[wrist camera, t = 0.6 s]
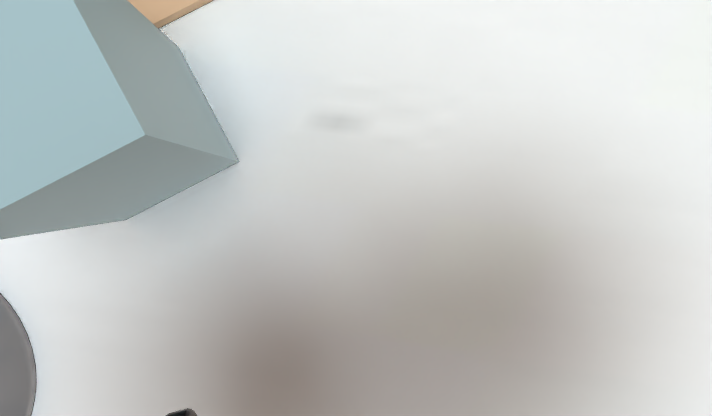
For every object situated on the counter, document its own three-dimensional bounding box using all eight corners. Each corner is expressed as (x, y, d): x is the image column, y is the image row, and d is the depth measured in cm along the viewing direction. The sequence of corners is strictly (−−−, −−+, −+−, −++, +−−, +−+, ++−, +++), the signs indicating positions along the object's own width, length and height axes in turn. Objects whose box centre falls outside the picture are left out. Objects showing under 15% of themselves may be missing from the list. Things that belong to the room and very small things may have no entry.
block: (239, 161, 22) (145, 134, 11) (126, 219, 22) (-84, 252, 11) (179, 47, 22) (20, -98, 11) (64, 105, 22) (-216, 21, 11)
